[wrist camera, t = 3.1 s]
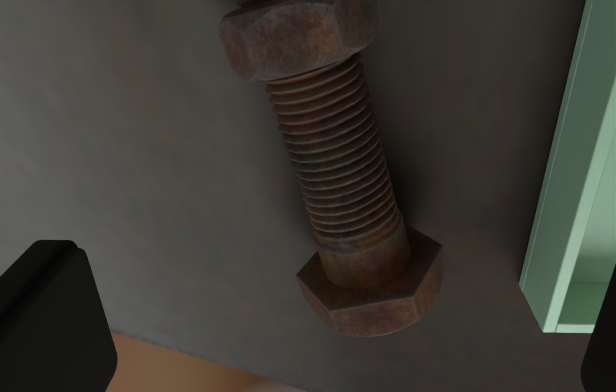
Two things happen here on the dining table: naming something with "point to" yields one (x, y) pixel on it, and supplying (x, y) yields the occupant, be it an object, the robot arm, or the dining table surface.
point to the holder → (578, 188)
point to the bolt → (337, 161)
